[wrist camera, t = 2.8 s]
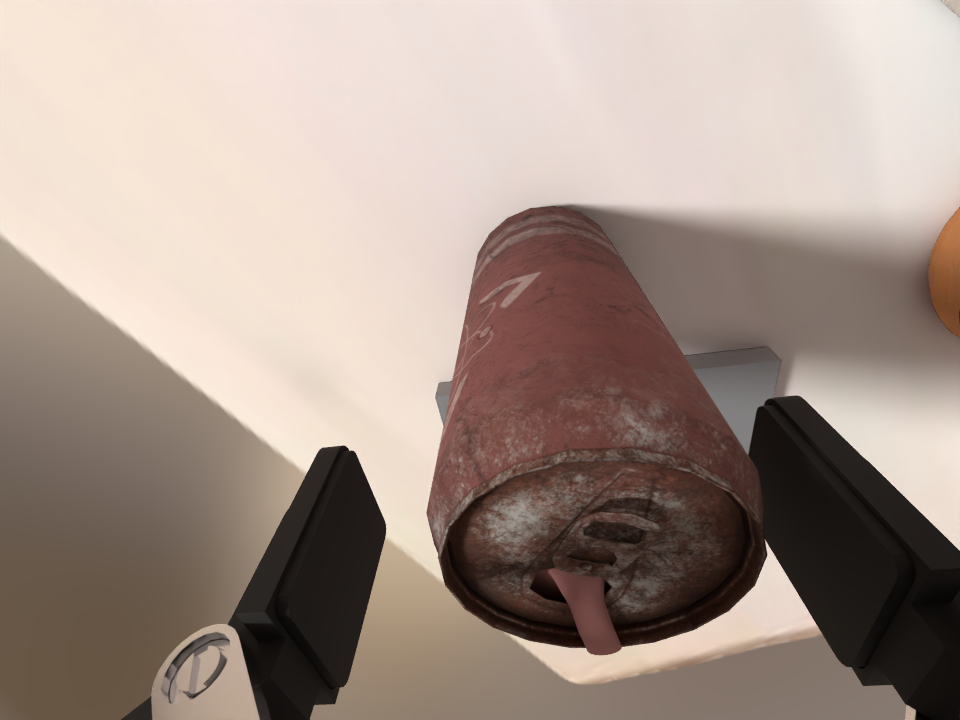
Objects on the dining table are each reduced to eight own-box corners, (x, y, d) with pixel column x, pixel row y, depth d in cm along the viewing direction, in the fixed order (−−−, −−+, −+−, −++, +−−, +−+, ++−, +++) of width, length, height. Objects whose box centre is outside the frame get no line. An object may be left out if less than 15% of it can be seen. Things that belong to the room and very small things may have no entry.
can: (506, 354, 21) (501, 683, 10) (453, 236, 18) (350, 503, 7) (629, 315, 20) (801, 648, 8) (593, 178, 17) (784, 393, 5)
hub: (767, 346, 20) (807, 386, 18) (726, 552, 29) (748, 601, 26) (438, 383, 23) (428, 423, 20) (488, 564, 31) (486, 609, 28)
